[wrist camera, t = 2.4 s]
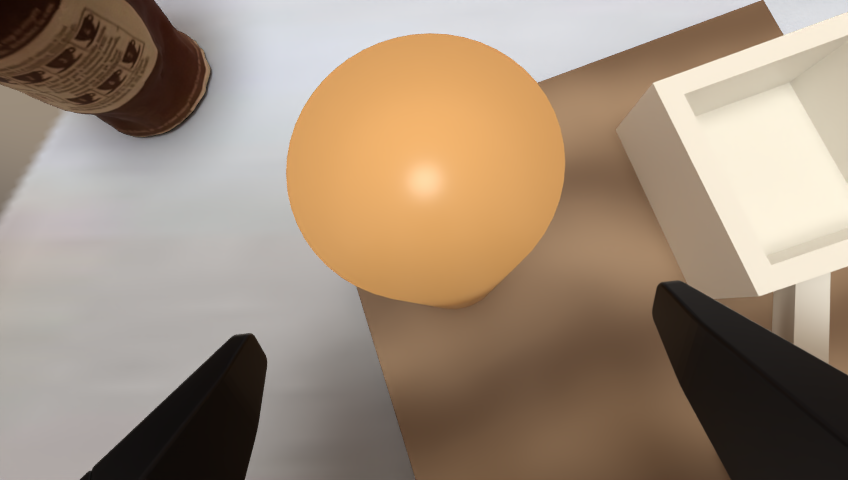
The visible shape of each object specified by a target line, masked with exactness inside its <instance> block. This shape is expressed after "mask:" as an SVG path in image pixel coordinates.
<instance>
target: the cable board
mask: <svg viewBox="0 0 848 480" xmlns="http://www.w3.org/2000/svg"><path fill="white" fill-rule="evenodd" d="M781 36H783V33H782V31H781V30H780V28H779V26H778V25H777V23H776V21H775V19H774V18H773V16H772V14H771V13H770V11H769V9H768V7H767V6H766V4H765V2H764V1H763V0H761V1H759V2H756V3H753V4H750V5H748V6H745V7H742V8H740V9H737V10H734V11H731V12H729V13H726V14H723V15H721V16H718V17H715V18H712V19H710V20H707V21H704V22H702V23H699V24H696V25H693V26H691V27H688V28H685V29H683V30H680V31H677V32H674V33H672V34H669V35H666V36H663V37H661V38H658V39H655V40H653V41H650V42H647V43H644V44H642V45H639V46H636V47H634V48H631V49H628V50H625V51H623V52H620V53H617V54H615V55H612V56H609V57H606V58H604V59H601V60H598V61H596V62H593V63H590V64H587V65H585V66H582V67H579V68H577V69H574V70H571V71H568V72H566V73H563V74H560V75H558V76H555V77H552V78H549V79H547V80H544V81H541V82H538V83H537V84H538V85H539V86H540V88H541V89H542V91H543V92H544V93H545V95H546V96H547V98H548V100H549V102H550V104H551V106H552V108H553V110H554V111H555V114H556V117H557V120H558V123H559V125H560V128H561V133H562V138H563V143H564V152H565V173H564V183H563V188H562V192H561V197H560V201H559V203H558V206H557V209H556V211H555V214H554V217H553V219H552V221H551V222H550V224H549V226H548V228H547V230H546V232H545V234H544V235H543V236H542V238H541V239H540V241H539V242H538V243H537V245H536V246H535V247H534V249H533V250H532V251H531V252H530V253H529V254H528V255H527V256H526V257H525V258H524V259H523V260H522V261H521V262H520V263H519V264H518V265H517V266H516V267H515V268H514V269H513V270H512V271H511V272H510V273H509V274H508V275H507V276H506V277H505V278H504V279H503V280H502V281H501V282H500V283H499V284H498V285H497V286H496V287H495V288H494V289H493V290H492V291H491V292H490V293H489V294H488V295H487V296H486V297H484V298H483V299H482V300H480V301H479V302H477V303H475V304H473V305H471V306H468V307H465V308H459V309H445V308H439V307H433V306H428V305H423V304H417V303H412V302H406V301H401V300H395V299H391V298H387V297H383V296H380V295H376V294H373V293H371V292H368V291H366V290H364V289H361V288H359V287H357V286H356V287H357V290H358V293H359V296H360V300H361V303H362V306H363V310H364V313H365V316H366V319H367V323H368V326H369V329H370V332H371V336H372V339H373V342H374V345H375V349H376V352H377V355H378V358H379V362H380V365H381V368H382V371H383V375H384V378H385V381H386V385H387V388H388V391H389V394H390V398H391V401H392V404H393V407H394V411H395V414H396V417H397V420H398V424H399V427H400V430H401V433H402V437H403V440H404V443H405V446H406V450H407V453H408V456H409V460H410V463H411V466H412V469H413V473H414V476H415V479H416V480H731V479H730V477H729V475H728V473H727V471H726V470H725V468H724V466H723V464H722V462H721V460H720V458H719V457H718V455H717V453H716V451H715V449H714V447H713V446H712V444H711V442H710V440H709V438H708V436H707V435H706V433H705V431H704V429H703V427H702V425H701V423H700V422H699V420H698V418H697V416H696V414H695V412H694V411H693V409H692V407H691V405H690V403H689V401H688V400H687V398H686V396H685V394H684V392H683V390H682V388H681V386H680V384H679V382H678V379H677V377H676V375H675V372H674V370H673V367H672V365H671V363H670V360H669V358H668V355H667V353H666V350H665V348H664V345H663V343H662V340H661V338H660V335H659V333H658V330H657V328H656V325H655V323H654V320H653V317H652V307H653V302H654V297H655V293H656V288H657V285H658V284H659V283H661V282H666V281H674V280H680V281H682V282H684V283H686V284H687V282H686V280H685V278H684V276H683V274H682V271H681V269H680V267H679V265H678V263H677V261H676V258H675V256H674V254H673V252H672V250H671V248H670V246H669V243H668V241H667V239H666V237H665V235H664V233H663V231H662V228H661V226H660V224H659V222H658V220H657V218H656V216H655V213H654V211H653V209H652V207H651V205H650V203H649V200H648V198H647V196H646V194H645V192H644V190H643V188H642V185H641V183H640V181H639V179H638V177H637V175H636V173H635V170H634V168H633V166H632V164H631V162H630V160H629V158H628V155H627V153H626V151H625V149H624V147H623V145H622V142H621V140H620V138H619V136H618V134H617V132H616V128H617V127H618V126H619V125H620V123H621V122H622V121H623V120H624V118H625V117H626V116H627V115H628V113H629V112H630V111H631V110H632V108H633V107H634V106H635V105H636V103H637V102H638V101H639V100H640V98H641V97H642V96H643V95H644V93H645V92H646V91H647V90H648V88H649V87H650V86H651V85H652V83H654V82H657V81H660V80H662V79H665V78H668V77H671V76H673V75H676V74H679V73H682V72H684V71H687V70H690V69H693V68H695V67H698V66H701V65H704V64H706V63H709V62H712V61H715V60H717V59H720V58H723V57H726V56H728V55H731V54H734V53H737V52H739V51H742V50H745V49H748V48H750V47H753V46H756V45H759V44H761V43H764V42H767V41H770V40H772V39H775V38H778V37H781ZM715 300H716V301H718V302H720V303H722V304H723V305H725V306H727V307H729V308H730V309H732V310H734V311H736V312H738V313H739V314H741V315H743V316H745V317H746V318H748V319H750V320H752V321H753V322H755V323H757V324H759V325H761V326H762V327H764V328H766V329H768V330H769V331H771V332H773V333H775V334H776V335H778V336H780V337H782V338H784V339H785V340H787V341H789V342H791V343H792V344H794V345H796V346H798V347H800V348H801V349H803V350H805V351H807V352H808V353H810V354H812V355H814V356H815V357H817V358H819V359H821V360H823V361H824V362H826V363H828V364H830V365H831V366H833V367H835V368H837V369H838V370H840V371H842V372H844V373H846V374H847V375H848V266H847V267H844V268H841V269H838V270H836V271H833V272H830V273H827V274H824V275H821V276H818V277H815V278H812V279H809V280H806V281H803V282H800V283H797V284H794V285H791V286H788V287H785V288H782V289H779V290H776V291H773V292H770V293H768V294H765V295H762V296H757V297H740V298H722V299H715Z"/></svg>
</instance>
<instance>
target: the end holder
mask: <svg viewBox="0 0 848 480" xmlns="http://www.w3.org/2000/svg"><path fill="white" fill-rule="evenodd" d="M616 132H617V134H618V136H619V138H620V140H621V142H622V145H623V147H624V149H625V151H626V153H627V155H628V158H629V160H630V162H631V164H632V166H633V168H634V170H635V173H636V175H637V177H638V179H639V181H640V183H641V185H642V188H643V190H644V192H645V194H646V196H647V198H648V200H649V203H650V205H651V207H652V209H653V211H654V213H655V216H656V218H657V220H658V222H659V224H660V226H661V228H662V231H663V233H664V235H665V237H666V239H667V241H668V243H669V246H670V248H671V250H672V252H673V254H674V256H675V258H676V261H677V263H678V265H679V267H680V269H681V271H682V274H683V276H684V278H685V280H686V282H687V284H688V285H690V286H692V287H693V288H695V289H697V290H699V291H700V292H702V293H704V294H706V295H707V296H709V297H711V298H713V299H722V298H740V297H757V296H762V295H765V294H768V293H770V292H773V291H776V290H779V289H782V288H785V287H788V286H791V285H794V284H797V283H800V282H803V281H806V280H809V279H812V278H815V277H818V276H821V275H824V274H827V273H830V272H833V271H836V270H838V269H841V268H844V267H847V266H848V12H847V13H844V14H841V15H838V16H836V17H833V18H830V19H827V20H825V21H822V22H819V23H816V24H814V25H811V26H808V27H805V28H803V29H800V30H797V31H794V32H792V33H789V34H786V35H783V36H781V37H778V38H775V39H772V40H770V41H767V42H764V43H761V44H759V45H756V46H753V47H750V48H748V49H745V50H742V51H739V52H737V53H734V54H731V55H728V56H726V57H723V58H720V59H717V60H715V61H712V62H709V63H706V64H704V65H701V66H698V67H695V68H693V69H690V70H687V71H684V72H682V73H679V74H676V75H673V76H671V77H668V78H665V79H662V80H660V81H657V82H654V83H652V85H651V86H650V87H649V88H648V90H647V91H646V92H645V93H644V95H643V96H642V97H641V98H640V100H639V101H638V102H637V103H636V105H635V106H634V107H633V108H632V110H631V111H630V112H629V113H628V115H627V116H626V117H625V118H624V120H623V121H622V122H621V123H620V125H619V126H618V127H617V128H616Z"/></svg>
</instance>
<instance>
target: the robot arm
mask: <svg viewBox="0 0 848 480" xmlns="http://www.w3.org/2000/svg"><path fill="white" fill-rule="evenodd" d="M652 317H653V320H654V323H655V325H656V328H657V330H658V333H659V335H660V338H661V340H662V343H663V345H664V348H665V350H666V353H667V355H668V358H669V360H670V363H671V365H672V367H673V370H674V372H675V375H676V377H677V379H678V382H679V384H680V386H681V388H682V390H683V392H684V394H685V396H686V398H687V400H688V401H689V403H690V405H691V407H692V409H693V411H694V412H695V414H696V416H697V418H698V420H699V422H700V423H701V425H702V427H703V429H704V431H705V433H706V435H707V436H708V438H709V440H710V442H711V444H712V446H713V447H714V449H715V451H716V453H717V455H718V457H719V458H720V460H721V462H722V464H723V466H724V468H725V470H726V471H727V473H728V475H729V477H730V479H731V480H848V375H847V374H846V373H844V372H842V371H840V370H838V369H837V368H835V367H833V366H831V365H830V364H828V363H826V362H824V361H823V360H821V359H819V358H817V357H815V356H814V355H812V354H810V353H808V352H807V351H805V350H803V349H801V348H800V347H798V346H796V345H794V344H792V343H791V342H789V341H787V340H785V339H784V338H782V337H780V336H778V335H776V334H775V333H773V332H771V331H769V330H768V329H766V328H764V327H762V326H761V325H759V324H757V323H755V322H753V321H752V320H750V319H748V318H746V317H745V316H743V315H741V314H739V313H738V312H736V311H734V310H732V309H730V308H729V307H727V306H725V305H723V304H722V303H720V302H718V301H716V300H715V299H713V298H711V297H709V296H707V295H706V294H704V293H702V292H700V291H699V290H697V289H695V288H693V287H692V286H690V285H688V284H686V283H684V282H682V281H680V280H674V281H666V282H661V283H659V284H658V285H657V288H656V293H655V297H654V302H653V307H652ZM266 370H267V358H266V355H265V353H264V352H263V350H262V348H261V346H260V345H259V343H258V341H257V339H256V337H255V336H254V335H253V334H251V333H246V334H238V335H234V336H232V337H231V338H230V339H229V340H228V341H227V342H226V343H225V344H223V345H222V346H221V347H220V348H219V349H218V350H217V351H216V352H215V353H214V354H213V355H212V356H211V357H210V358H209V359H208V360H206V361H205V362H204V363H203V364H202V365H201V366H200V367H199V368H198V369H197V370H196V371H195V372H194V373H193V374H192V375H191V376H189V377H188V378H187V379H186V380H185V381H184V382H183V383H182V384H181V385H180V386H179V387H178V388H177V389H176V390H175V391H174V392H172V393H171V394H170V395H169V396H168V397H167V398H166V399H165V400H164V401H163V402H162V403H161V404H160V405H159V406H158V407H157V408H155V409H154V410H153V411H152V412H151V413H150V414H149V415H148V416H147V417H146V418H145V419H144V420H143V421H142V422H141V423H140V424H138V425H137V426H136V427H135V428H134V429H133V430H132V431H131V432H130V433H129V434H128V435H127V436H126V437H125V438H124V439H123V440H121V441H120V442H119V443H118V444H117V445H116V446H115V447H114V448H113V449H112V450H111V451H110V452H109V453H108V454H107V455H106V456H104V457H103V458H102V459H101V460H100V461H99V462H98V463H97V464H96V465H95V466H94V467H93V469H92V471H89V472H87V473H86V474H85V475H84V476H83V477H82V478H81V479H80V480H245V476H246V472H247V469H248V465H249V461H250V457H251V453H252V449H253V445H254V442H255V437H256V433H257V429H258V423H259V418H260V411H261V404H262V397H263V390H264V384H265V377H266Z"/></svg>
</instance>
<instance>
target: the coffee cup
mask: <svg viewBox="0 0 848 480" xmlns="http://www.w3.org/2000/svg"><path fill="white" fill-rule="evenodd" d="M209 76H210V67H209V64H208V62H207V61H206V58H205V53H204V51H203V49H201V48H200V47H199V46H198V44H197V43H196V41H194V40H193V39H191V38H190V37H189V36H187V35H186V34H184V33H182V32H179V31H177V30H176V29H175V28H174V27H173V26H172V25H171V23H170V21H169V20H168V18H167V17H166V16H165V14H164V13H163V12H162V10H161V9H160V7H159V6H158V5H157V4H156V2H155V1H154V0H0V84H1V85H3V86H6V87H9V88H12V89H15V90H18V91H20V92H22V93H25V94H27V95H29V96H31V97H33V98H35V99H38V100H40V101H42V102H44V103H47V104H50V105H52V106H55V107H57V108H60V109H63V110H65V111H70V112H75V113H81V114H91V115H95V116H97V117H98V118H100V119H101V120H103V121H104V122H106V123H108V124H109V125H111V126H112V127H114V128H115V129H116V130H118V131H119V132H121V133H124V134H126V135H130V136H135V137H146V136H152V135H157V134H161V133H165V132H167V131H169V130H171V129H173V128H174V127H176V126H177V125H178V124H180V123H181V122H182V121H183V120H185V119H186V118H187V117H188V116H189V115H190V114H191V113H192V112H193V110H194V109H195V107H196V106H197V104H198V102H199V101H200V100H201V98H202V97H203V95H204V93H205V91H206V85H207V81H208V79H209Z"/></svg>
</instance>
